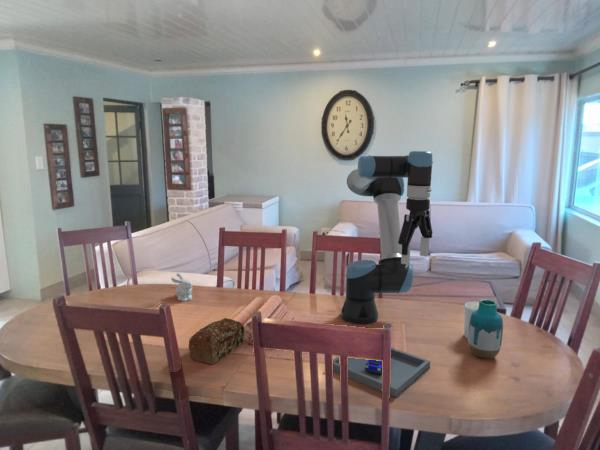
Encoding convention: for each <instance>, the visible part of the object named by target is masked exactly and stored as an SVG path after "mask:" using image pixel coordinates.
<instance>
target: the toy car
mask: <svg viewBox="0 0 600 450" xmlns="http://www.w3.org/2000/svg"><path fill="white" fill-rule="evenodd" d="M391 358H392V356H391ZM365 370H366V371H369V372H374V373H378V374H381V375H382V361H376V360H368V361H367V363H366V364H365Z"/></svg>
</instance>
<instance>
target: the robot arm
mask: <svg viewBox="0 0 600 450" xmlns="http://www.w3.org/2000/svg"><path fill="white" fill-rule="evenodd" d="M433 163H434V162H433V152H431V151H427V150H411V151H410V152H409V153H408V154H406V155H362V156H360V157H359V158H358V161H357V168H356V169H354V170H352V171H351V172H350V173H349V174H348V176H347V177H346V185H347V188H348V189H349V190H350V191H351V192H352V193H354V194H356V195H358V196H362V197H372V198H373V202H374V203H375V204H376V205H377V214H378V228H379V239H380V251H381V258H380V259H378V264H377V263H376V261H375V260H372V259H359V260H354V261H351V262H350V263H349V264H348V265H347V267H346V274H345V277H346V278H345V279H346V280H345V281H346V282H345V300H344V302H343V306H342V308H341V312H340V316H341V319H342V320H344V321H345V322H348V323H350V324H351V323H352V324H355V325H368V324H367V323H369V324H372V323H375V322H377V321H378V320H379V311H378V308H377V307H378V306H377V304H376V301H375V299H376V298H375V296H376V295H375V294H402V293H403V294H404V293H408V292H409V291H411V288H412V285H413V282H414V268H413V265H412V264H410V263H411V261H410V260H411V240H412V238H413V236H414V233H415V231H416V230H417V229H419V232H420V234H421V237H420V246H419V247H420V248H419V256H421V257H426V258H427V257H429V242H430V239H432V238H433V228H432V223H431V217H430V215H431V214H430V212H431V211H430V203H431V201H430V199H429V198H430V197H431V192H432V189H431V185H432V172H433V171H432V169H433ZM404 178H407V183H406V184H407V185H406V197H407V198H406V205H405V208H406V210H407V211H409V213H408V214H404V216H403V223H402V227H401V225H400V214H399V213H400V212H399V205H398V204H399V203H398V202H399V201H400V200H401V198H402V196H404V193H405V181H404Z"/></svg>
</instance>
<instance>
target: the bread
mask: <svg viewBox="0 0 600 450" xmlns="http://www.w3.org/2000/svg"><path fill="white" fill-rule="evenodd" d="M244 337H245V327H244V324H243V323H242V322H241V321H238V320H235V319H232V318H227V317H226V318H223V319H220V320H216V321H212V322H210V323H209V324H207V325H206V326H204V327H202V328H200V329H199V330H197V331H196V332H195V333H194V334H193V335H192V336H191V337H190V338H189V340H188V342H189V343H188V350H189V356H190V358H191V359H192V360H193V361H197V362H200V363H203V364H206V365H208V366H210V365H213V364H216V363H217V362H219V361H221V360H222V359H224V358H225V357H227V356H228V355H229V354H231V353H232V352H234V351H235V350H236V349H238V347H240V346H242V344H243V343H244Z"/></svg>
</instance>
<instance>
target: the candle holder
mask: <svg viewBox="0 0 600 450" xmlns="http://www.w3.org/2000/svg"><path fill="white" fill-rule="evenodd" d="M478 307H479V301H467V302H466V303H464V321H463V322H464V324H463V325H464V326H463V328H464V329H463V330H464V331H463V332H464V333H463V334H464V337H465V338H466V339H468V330H469V322H470V317H471V314H472V312H473V311H475V310H478Z"/></svg>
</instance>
